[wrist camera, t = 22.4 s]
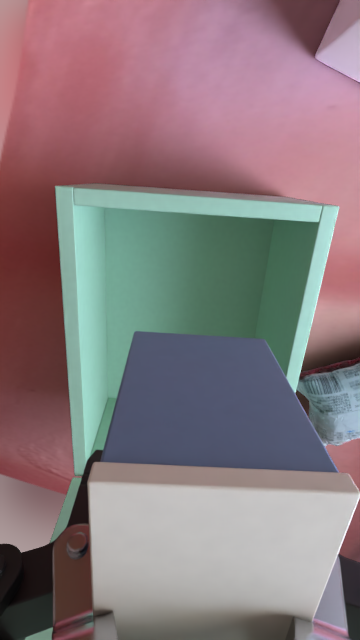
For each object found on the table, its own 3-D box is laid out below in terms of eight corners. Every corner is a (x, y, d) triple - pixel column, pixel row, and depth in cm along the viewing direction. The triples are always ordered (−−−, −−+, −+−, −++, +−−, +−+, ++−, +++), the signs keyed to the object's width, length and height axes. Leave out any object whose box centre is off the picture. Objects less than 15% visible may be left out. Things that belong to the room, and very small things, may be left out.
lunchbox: (94, 183, 26) (54, 185, 17) (286, 196, 27) (339, 206, 18) (100, 399, 34) (74, 476, 25) (249, 406, 34) (274, 484, 25)
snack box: (268, 335, 12) (362, 494, 6) (230, 533, 16) (264, 749, 10) (131, 327, 12) (86, 483, 6) (127, 529, 16) (97, 748, 10)
